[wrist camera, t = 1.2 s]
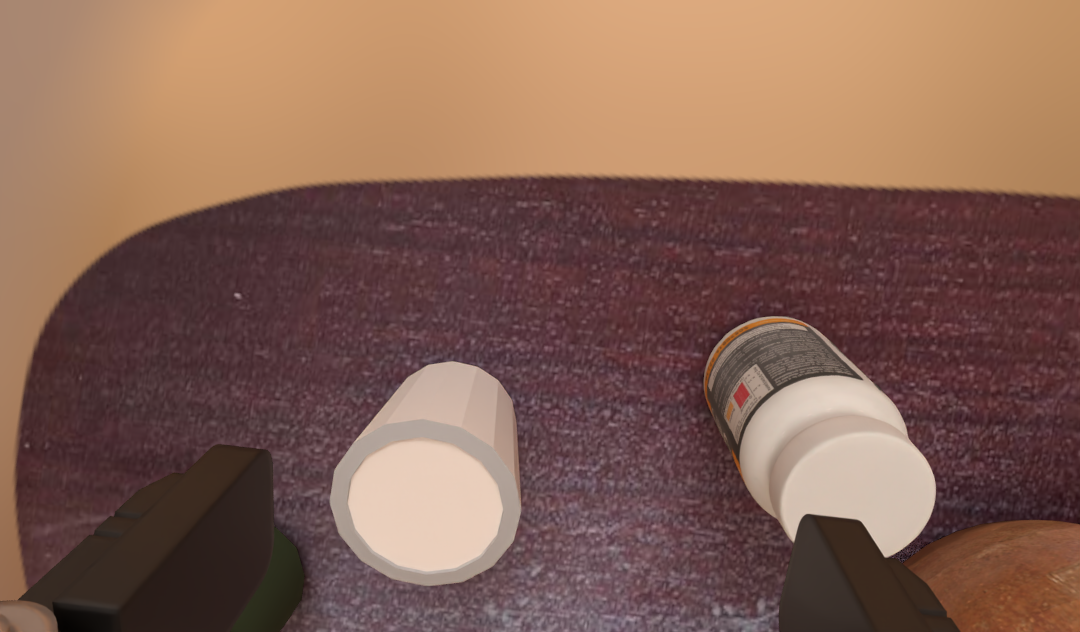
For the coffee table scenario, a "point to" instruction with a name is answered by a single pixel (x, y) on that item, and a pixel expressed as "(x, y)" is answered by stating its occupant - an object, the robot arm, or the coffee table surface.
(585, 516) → the coffee table surface
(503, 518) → the shot glass
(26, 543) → the coffee table surface
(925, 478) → the pill bottle
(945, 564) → the jug
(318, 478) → the coffee table surface
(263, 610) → the character mug
